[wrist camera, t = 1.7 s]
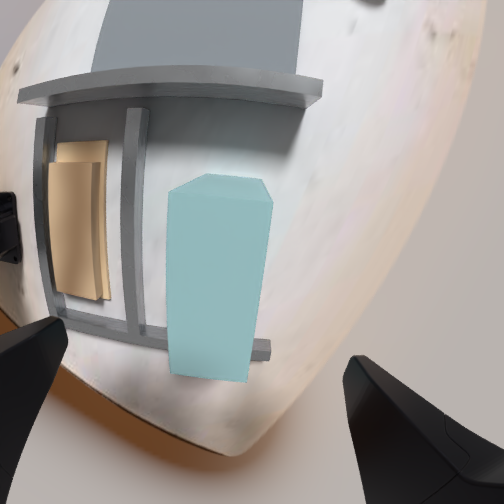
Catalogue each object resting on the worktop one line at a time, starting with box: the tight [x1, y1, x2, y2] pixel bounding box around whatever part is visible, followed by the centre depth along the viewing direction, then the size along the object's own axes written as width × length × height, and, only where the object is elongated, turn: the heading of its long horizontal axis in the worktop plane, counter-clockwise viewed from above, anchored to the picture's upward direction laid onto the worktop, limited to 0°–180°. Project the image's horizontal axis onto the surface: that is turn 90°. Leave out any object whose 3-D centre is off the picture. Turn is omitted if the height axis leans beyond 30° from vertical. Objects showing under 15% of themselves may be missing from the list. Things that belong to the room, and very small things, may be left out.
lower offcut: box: [56, 140, 111, 300], centre depth 19 cm, size 4×12×1 cm, turn 173°
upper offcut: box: [48, 162, 103, 300], centre depth 18 cm, size 4×10×1 cm, turn 172°
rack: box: [17, 65, 323, 361], centre depth 17 cm, size 19×19×4 cm
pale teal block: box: [166, 174, 273, 383], centre depth 15 cm, size 4×8×9 cm, turn 173°
